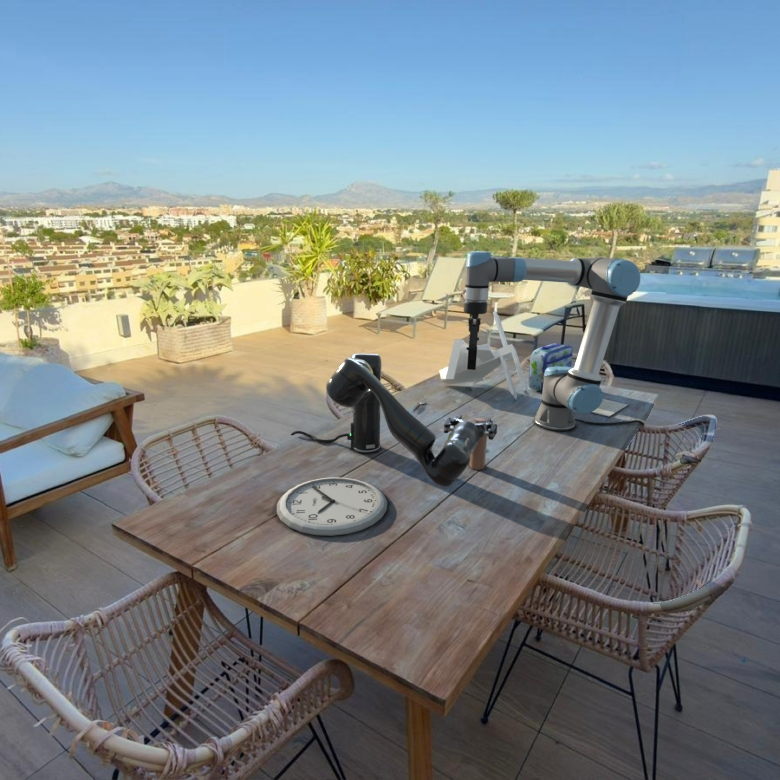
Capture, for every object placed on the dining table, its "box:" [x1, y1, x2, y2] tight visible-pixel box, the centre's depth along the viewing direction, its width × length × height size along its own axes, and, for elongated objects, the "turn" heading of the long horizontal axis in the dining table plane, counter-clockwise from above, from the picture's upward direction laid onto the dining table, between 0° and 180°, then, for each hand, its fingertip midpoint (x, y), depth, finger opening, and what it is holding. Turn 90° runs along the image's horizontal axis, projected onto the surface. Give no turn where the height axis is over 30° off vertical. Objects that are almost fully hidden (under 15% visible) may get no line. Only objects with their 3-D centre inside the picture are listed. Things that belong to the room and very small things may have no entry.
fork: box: [413, 396, 428, 412], centre depth 222 cm, size 3×16×2 cm, turn 160°
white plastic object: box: [438, 310, 531, 400], centre depth 245 cm, size 37×45×31 cm
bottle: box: [469, 417, 488, 471], centre depth 165 cm, size 5×5×16 cm
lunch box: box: [528, 343, 574, 392], centre depth 249 cm, size 26×11×21 cm, turn 134°
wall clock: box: [276, 476, 388, 537], centre depth 142 cm, size 30×2×30 cm
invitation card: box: [591, 398, 629, 418], centre depth 226 cm, size 21×1×15 cm
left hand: (475, 419), depth 153 cm, fingers open, 8 cm apart
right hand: (471, 364), depth 176 cm, fingers open, 13 cm apart
